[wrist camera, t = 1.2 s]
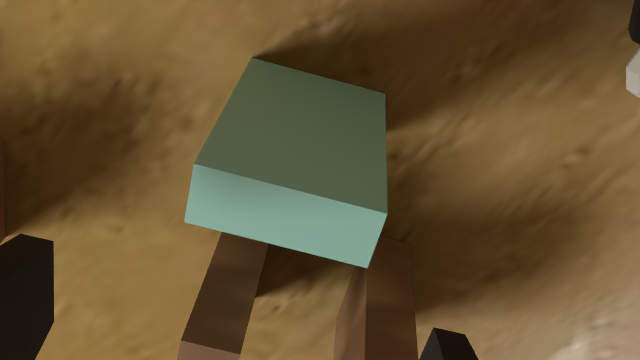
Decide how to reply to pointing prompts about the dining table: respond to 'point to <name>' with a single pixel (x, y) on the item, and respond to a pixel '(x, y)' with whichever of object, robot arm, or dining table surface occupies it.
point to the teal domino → (296, 165)
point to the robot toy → (636, 69)
